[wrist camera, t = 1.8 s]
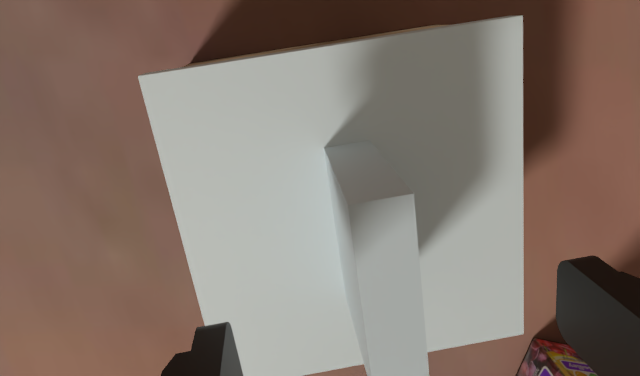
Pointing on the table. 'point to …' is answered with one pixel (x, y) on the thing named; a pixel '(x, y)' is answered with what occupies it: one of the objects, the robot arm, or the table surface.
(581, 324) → the robot arm
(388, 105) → the lid
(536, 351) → the snack box
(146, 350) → the table surface
